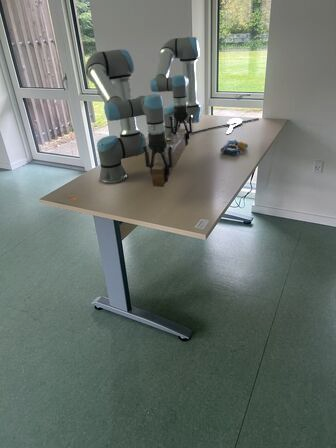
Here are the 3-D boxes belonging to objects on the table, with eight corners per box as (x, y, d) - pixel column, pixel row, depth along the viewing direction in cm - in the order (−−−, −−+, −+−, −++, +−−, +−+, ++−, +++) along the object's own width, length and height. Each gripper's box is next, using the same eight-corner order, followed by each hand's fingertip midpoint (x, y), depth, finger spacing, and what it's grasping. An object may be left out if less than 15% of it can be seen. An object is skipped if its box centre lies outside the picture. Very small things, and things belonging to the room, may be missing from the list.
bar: (180, 142, 209) (179, 128, 204) (188, 142, 208) (187, 128, 203) (153, 186, 156) (151, 169, 151) (163, 186, 155) (161, 169, 150)
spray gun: (250, 145, 220) (228, 144, 226) (250, 139, 217) (228, 138, 224) (241, 157, 204) (218, 155, 211) (242, 150, 202) (218, 149, 208)
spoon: (235, 136, 245) (235, 133, 244) (220, 135, 249) (220, 132, 248) (243, 120, 272) (243, 117, 270) (230, 120, 275) (230, 117, 274)
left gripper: (134, 134, 146) (140, 183, 158) (174, 134, 142) (177, 184, 154) (139, 129, 152) (145, 176, 165) (178, 129, 148) (181, 177, 160)
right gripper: (163, 107, 190) (166, 146, 203) (194, 106, 186) (196, 146, 198) (166, 103, 197) (169, 142, 209) (196, 103, 192) (198, 142, 204)
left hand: (160, 180), depth 159 cm, fingers closed on bar, 5 cm apart
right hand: (182, 144), depth 203 cm, fingers closed on bar, 5 cm apart
